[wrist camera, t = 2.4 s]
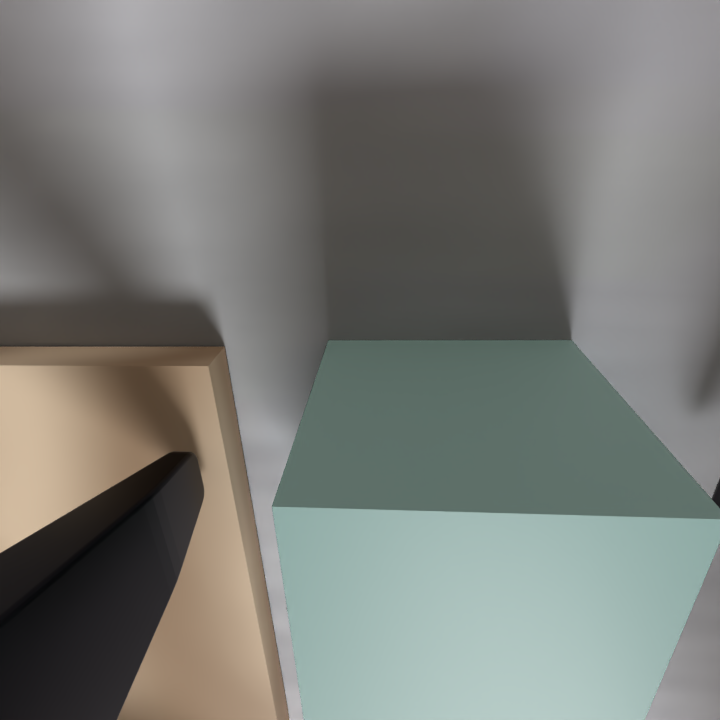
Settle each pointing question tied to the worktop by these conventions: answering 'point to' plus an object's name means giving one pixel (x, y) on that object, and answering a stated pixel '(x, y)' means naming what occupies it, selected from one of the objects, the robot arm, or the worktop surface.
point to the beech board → (122, 459)
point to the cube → (483, 537)
